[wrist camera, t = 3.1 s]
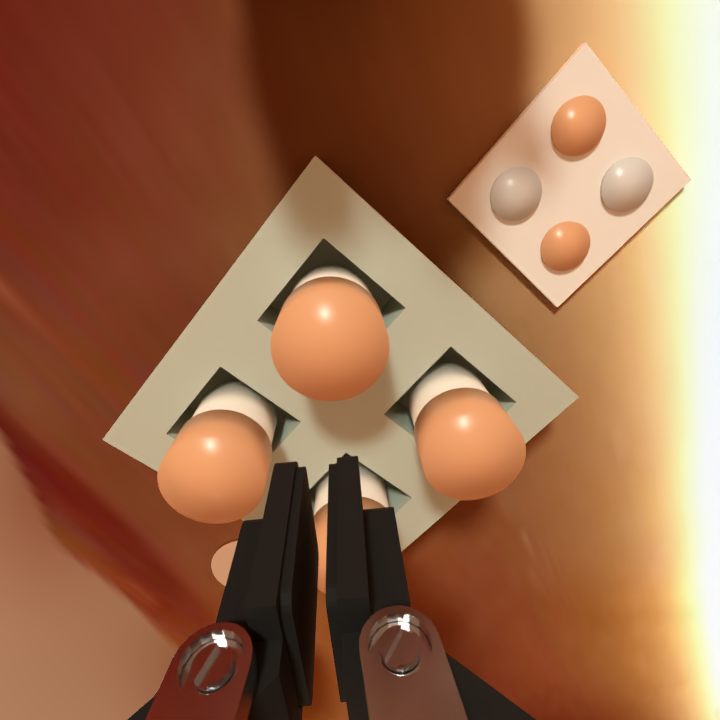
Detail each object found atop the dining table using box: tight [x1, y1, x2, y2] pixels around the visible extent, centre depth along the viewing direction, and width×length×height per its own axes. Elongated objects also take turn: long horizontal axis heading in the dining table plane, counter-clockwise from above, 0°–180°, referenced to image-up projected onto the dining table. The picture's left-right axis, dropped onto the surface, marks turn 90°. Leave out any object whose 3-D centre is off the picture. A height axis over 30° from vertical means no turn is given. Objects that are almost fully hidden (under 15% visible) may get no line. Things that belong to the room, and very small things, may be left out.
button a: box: [407, 363, 526, 500], centre depth 27 cm, size 6×6×7 cm
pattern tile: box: [447, 43, 691, 307], centre depth 28 cm, size 11×11×1 cm
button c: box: [314, 462, 389, 594], centre depth 30 cm, size 6×6×7 cm
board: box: [102, 156, 578, 552], centre depth 31 cm, size 22×22×5 cm
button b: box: [270, 265, 389, 401], centre depth 24 cm, size 6×6×7 cm
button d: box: [157, 382, 277, 524], centre depth 27 cm, size 6×6×7 cm
